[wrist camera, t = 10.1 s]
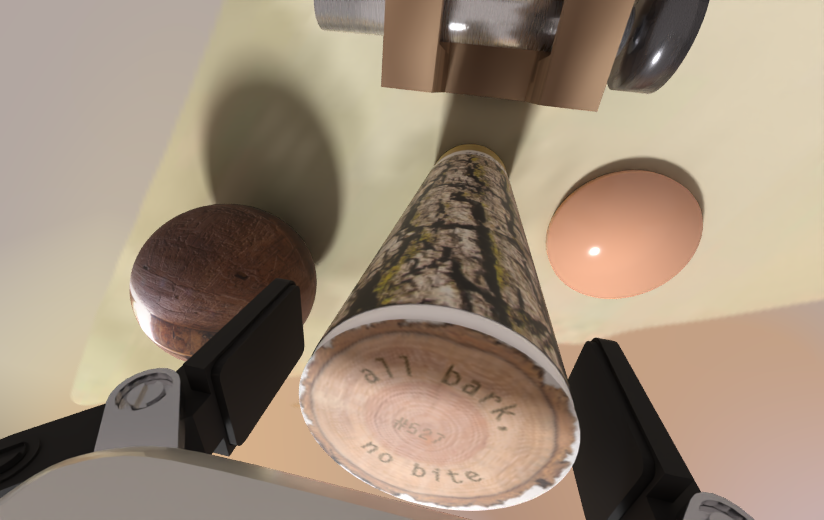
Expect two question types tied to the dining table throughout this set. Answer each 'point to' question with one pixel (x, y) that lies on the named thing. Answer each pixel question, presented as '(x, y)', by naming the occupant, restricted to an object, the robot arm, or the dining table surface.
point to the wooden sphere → (213, 272)
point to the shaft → (547, 31)
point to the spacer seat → (623, 234)
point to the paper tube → (447, 354)
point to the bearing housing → (506, 56)
